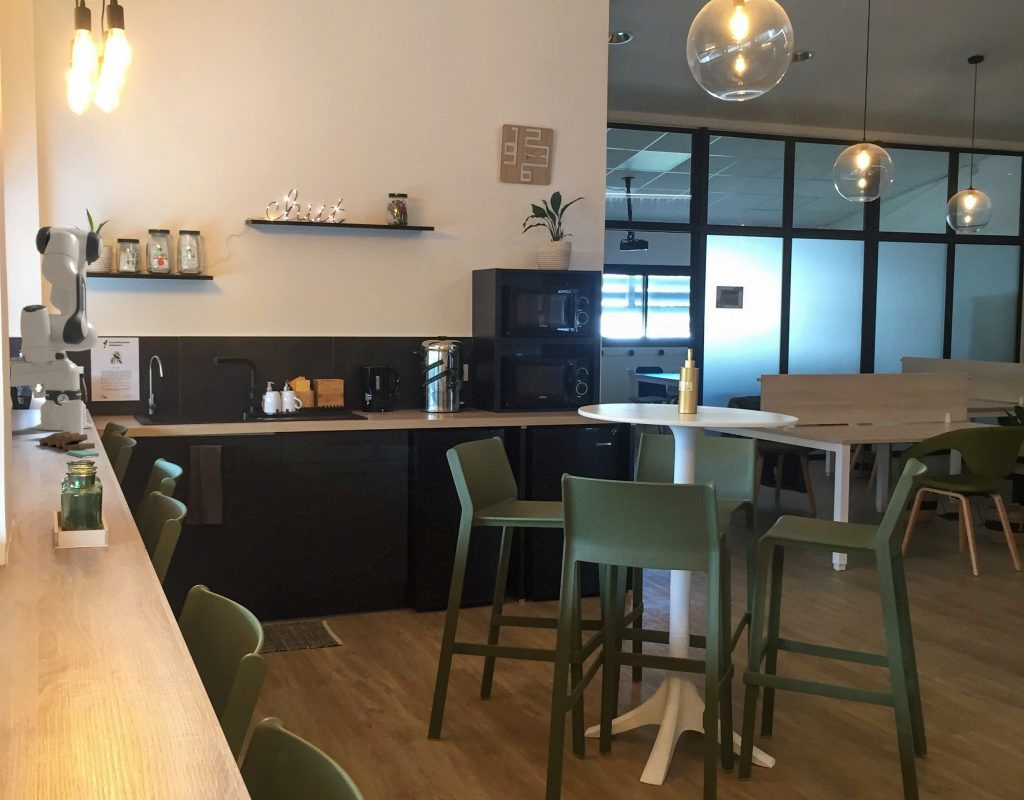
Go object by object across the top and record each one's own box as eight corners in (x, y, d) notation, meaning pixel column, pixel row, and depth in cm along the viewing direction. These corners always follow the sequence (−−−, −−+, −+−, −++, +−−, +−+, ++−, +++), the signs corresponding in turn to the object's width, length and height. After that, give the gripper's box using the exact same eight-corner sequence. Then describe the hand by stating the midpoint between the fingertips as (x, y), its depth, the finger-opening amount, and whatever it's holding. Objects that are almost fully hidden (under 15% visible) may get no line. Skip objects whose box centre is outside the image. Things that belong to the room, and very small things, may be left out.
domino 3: (55, 443, 321) (71, 435, 315) (70, 441, 325) (86, 434, 319) (56, 447, 321) (72, 440, 315) (71, 446, 325) (87, 439, 319)
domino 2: (47, 441, 324) (64, 434, 319) (62, 440, 329) (78, 432, 323) (48, 446, 324) (65, 439, 319) (63, 445, 328) (80, 437, 323)
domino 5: (67, 450, 311) (82, 454, 304) (83, 449, 315) (98, 453, 308) (67, 456, 311) (82, 460, 304) (83, 454, 315) (99, 458, 308)
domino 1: (38, 440, 327) (55, 432, 321) (53, 438, 331) (69, 431, 325) (40, 445, 327) (56, 437, 321) (54, 443, 331) (70, 436, 325)
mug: (84, 434, 353) (83, 400, 352) (83, 437, 347) (83, 402, 345) (52, 435, 349) (51, 400, 348) (51, 438, 343) (50, 402, 342)
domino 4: (62, 445, 318) (79, 444, 312) (77, 443, 322) (94, 443, 316) (63, 450, 318) (79, 449, 312) (78, 448, 322) (94, 448, 316)
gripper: (9, 358, 319) (12, 402, 321) (71, 353, 336) (73, 395, 338) (0, 357, 323) (2, 400, 325) (61, 352, 339) (63, 393, 341)
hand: (39, 397), depth 332 cm, fingers closed
